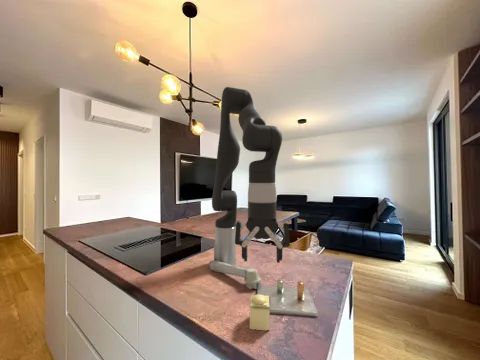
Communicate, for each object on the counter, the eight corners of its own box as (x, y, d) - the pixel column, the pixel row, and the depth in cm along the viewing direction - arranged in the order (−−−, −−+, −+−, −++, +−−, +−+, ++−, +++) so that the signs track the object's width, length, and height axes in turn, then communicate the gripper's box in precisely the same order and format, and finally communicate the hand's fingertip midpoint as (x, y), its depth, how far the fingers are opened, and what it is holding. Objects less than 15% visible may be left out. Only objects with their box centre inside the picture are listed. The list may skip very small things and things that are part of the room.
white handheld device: (216, 258, 91) (262, 266, 74) (217, 273, 90) (264, 285, 74) (206, 261, 87) (253, 270, 70) (208, 278, 86) (255, 291, 70)
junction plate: (256, 312, 59) (256, 291, 59) (257, 288, 72) (257, 271, 72) (317, 316, 57) (317, 295, 57) (307, 291, 70) (307, 273, 70)
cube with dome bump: (249, 329, 52) (249, 303, 52) (250, 316, 57) (250, 292, 57) (269, 330, 52) (269, 304, 52) (268, 317, 57) (269, 293, 57)
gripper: (233, 201, 52) (233, 265, 52) (291, 201, 50) (291, 268, 50) (237, 198, 59) (237, 255, 59) (287, 199, 58) (287, 257, 58)
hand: (261, 260), depth 55 cm, fingers open, 8 cm apart
